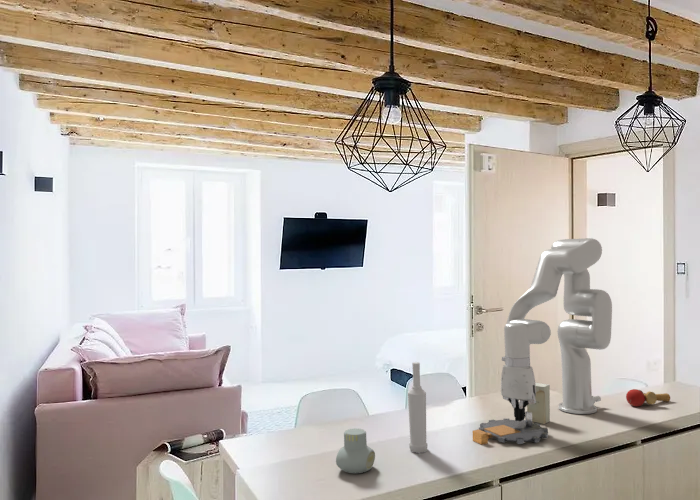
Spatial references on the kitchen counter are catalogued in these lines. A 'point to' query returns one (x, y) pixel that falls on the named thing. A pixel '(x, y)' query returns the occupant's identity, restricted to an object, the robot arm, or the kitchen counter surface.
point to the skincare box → (541, 404)
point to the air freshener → (355, 452)
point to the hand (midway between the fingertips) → (519, 419)
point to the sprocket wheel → (515, 430)
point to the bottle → (417, 413)
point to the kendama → (645, 397)
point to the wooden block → (480, 437)
